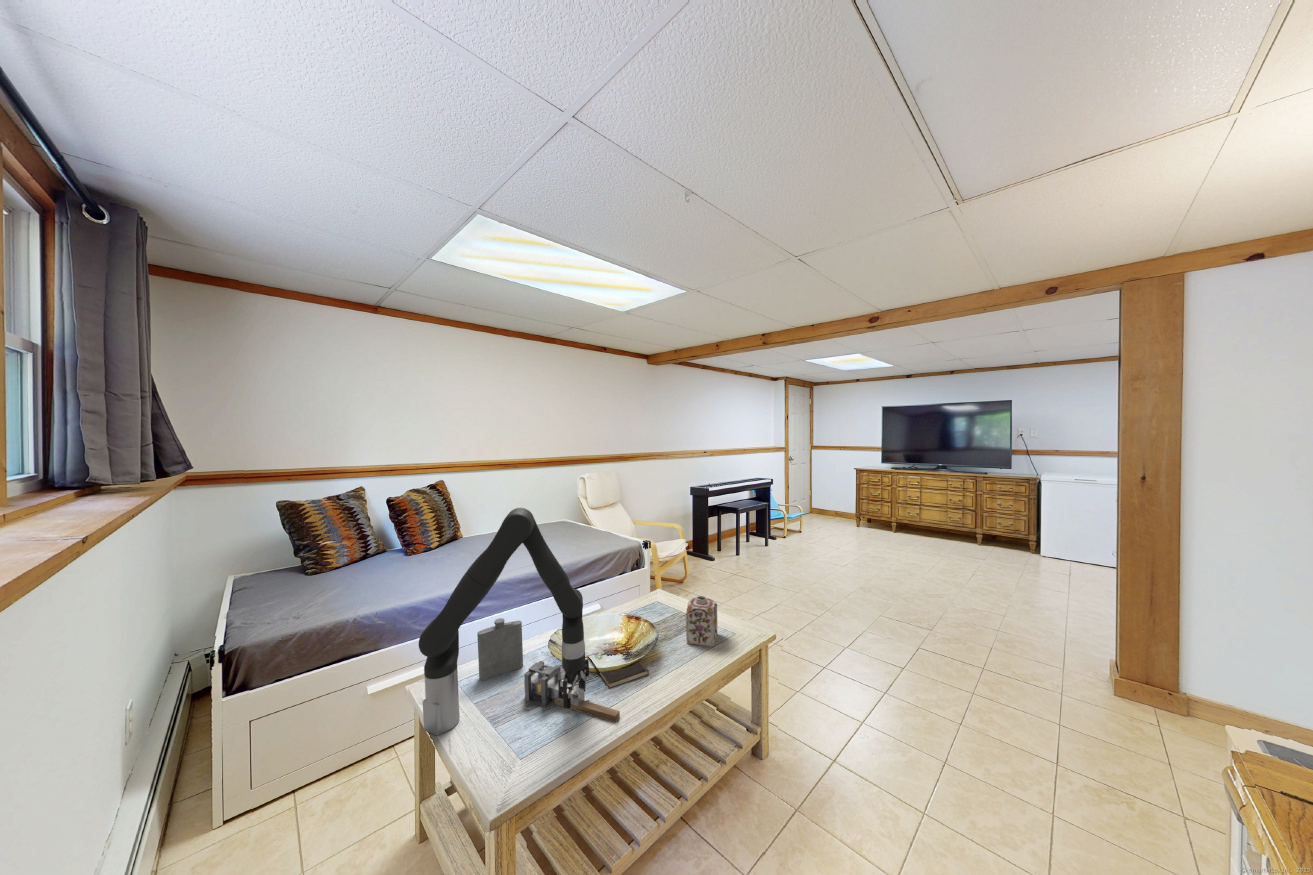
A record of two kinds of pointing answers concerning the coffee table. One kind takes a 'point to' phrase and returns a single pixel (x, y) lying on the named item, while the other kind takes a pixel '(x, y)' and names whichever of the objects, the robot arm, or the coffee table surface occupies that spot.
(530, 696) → the frame
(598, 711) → the walnut rail
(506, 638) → the hip flask
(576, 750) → the coffee table surface
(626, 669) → the hardcover book
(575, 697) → the square steel tube
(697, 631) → the decorative jar
